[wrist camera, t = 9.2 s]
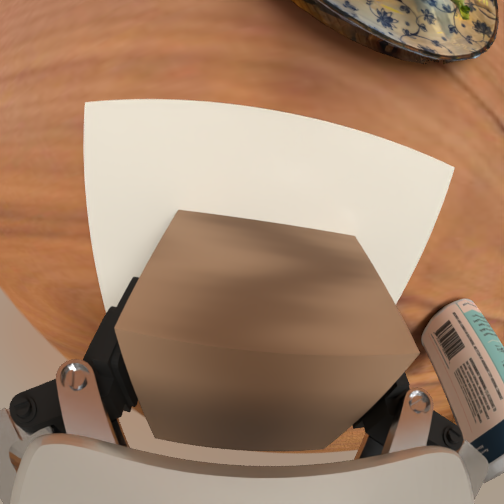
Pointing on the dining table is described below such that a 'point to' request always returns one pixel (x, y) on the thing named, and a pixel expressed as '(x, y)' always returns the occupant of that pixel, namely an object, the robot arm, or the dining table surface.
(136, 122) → the stone tile
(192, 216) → the walnut block
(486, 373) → the beer can
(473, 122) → the dining table surface
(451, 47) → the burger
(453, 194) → the dining table surface
